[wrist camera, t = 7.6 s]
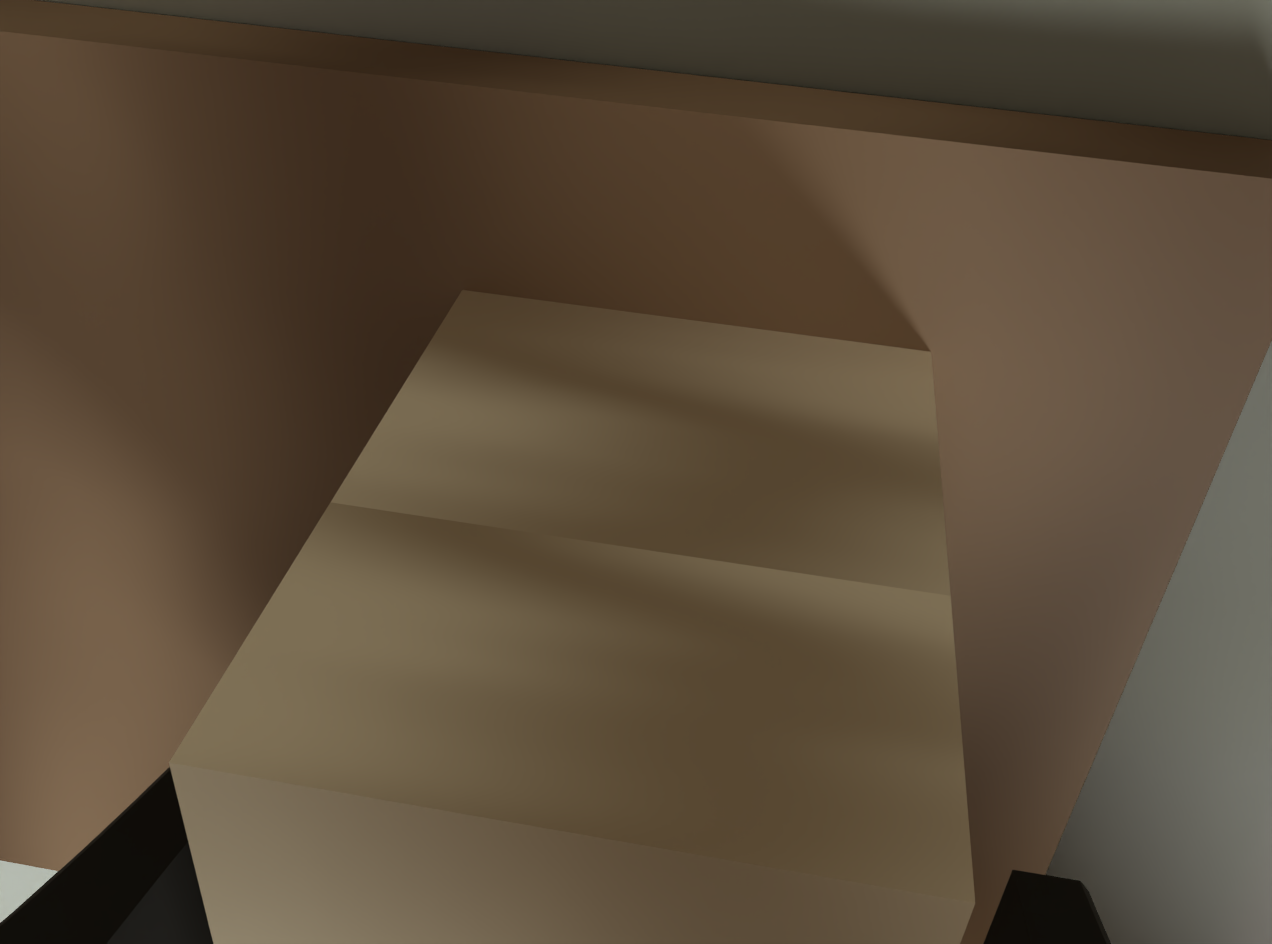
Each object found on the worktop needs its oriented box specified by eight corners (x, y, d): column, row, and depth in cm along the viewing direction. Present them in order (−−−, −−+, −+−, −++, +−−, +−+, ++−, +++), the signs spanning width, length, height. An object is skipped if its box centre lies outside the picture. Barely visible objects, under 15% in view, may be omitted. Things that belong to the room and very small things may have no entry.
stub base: (-132, 778, 20) (-328, 1002, 17) (-526, -64, 12) (-1026, 47, 9) (970, 978, 18) (991, 1270, 15) (1302, 144, 11) (1490, 369, 7)
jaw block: (477, 866, 17) (316, 1365, 12) (462, 290, 12) (168, 762, 7) (796, 923, 16) (764, 1464, 12) (931, 351, 11) (975, 902, 6)
